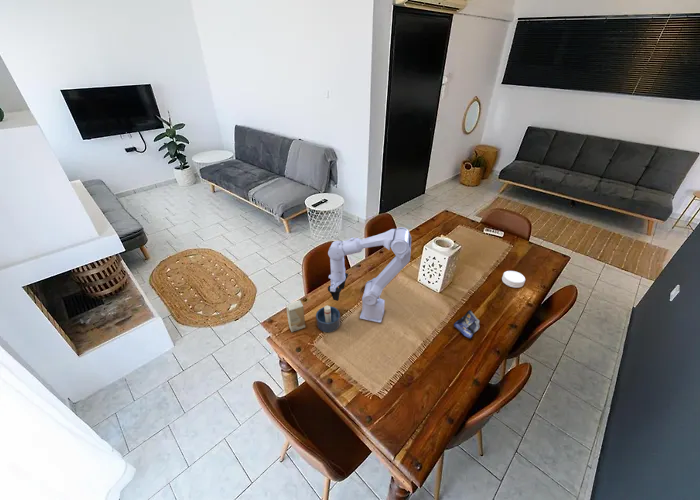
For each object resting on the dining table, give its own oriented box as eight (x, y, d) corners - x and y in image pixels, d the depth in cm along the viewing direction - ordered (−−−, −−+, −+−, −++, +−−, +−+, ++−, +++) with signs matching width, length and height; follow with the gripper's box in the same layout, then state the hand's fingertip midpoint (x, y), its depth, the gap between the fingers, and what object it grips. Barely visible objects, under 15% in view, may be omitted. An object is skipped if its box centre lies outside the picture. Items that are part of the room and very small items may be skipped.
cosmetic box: (291, 332, 125) (288, 311, 118) (288, 325, 128) (284, 304, 122) (306, 327, 127) (303, 305, 121) (302, 320, 131) (300, 299, 124)
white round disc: (518, 291, 145) (520, 285, 143) (497, 281, 151) (499, 275, 149) (527, 282, 150) (529, 276, 148) (507, 273, 157) (509, 267, 155)
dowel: (332, 320, 130) (331, 305, 125) (330, 325, 127) (329, 310, 123) (326, 319, 130) (325, 304, 126) (324, 323, 128) (323, 309, 123)
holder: (343, 317, 132) (342, 308, 129) (335, 334, 124) (335, 325, 121) (321, 312, 134) (321, 304, 132) (313, 329, 126) (312, 320, 124)
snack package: (489, 337, 122) (475, 316, 131) (491, 327, 118) (476, 305, 128) (461, 344, 121) (448, 322, 131) (462, 334, 118) (449, 313, 127)
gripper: (334, 257, 130) (335, 282, 137) (322, 277, 118) (324, 303, 126) (349, 259, 128) (350, 284, 136) (339, 280, 117) (340, 306, 124)
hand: (338, 293), depth 131 cm, fingers open, 7 cm apart
